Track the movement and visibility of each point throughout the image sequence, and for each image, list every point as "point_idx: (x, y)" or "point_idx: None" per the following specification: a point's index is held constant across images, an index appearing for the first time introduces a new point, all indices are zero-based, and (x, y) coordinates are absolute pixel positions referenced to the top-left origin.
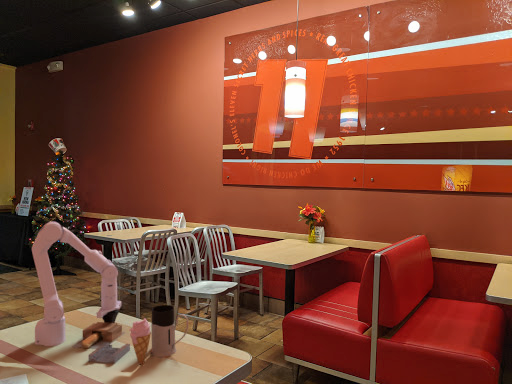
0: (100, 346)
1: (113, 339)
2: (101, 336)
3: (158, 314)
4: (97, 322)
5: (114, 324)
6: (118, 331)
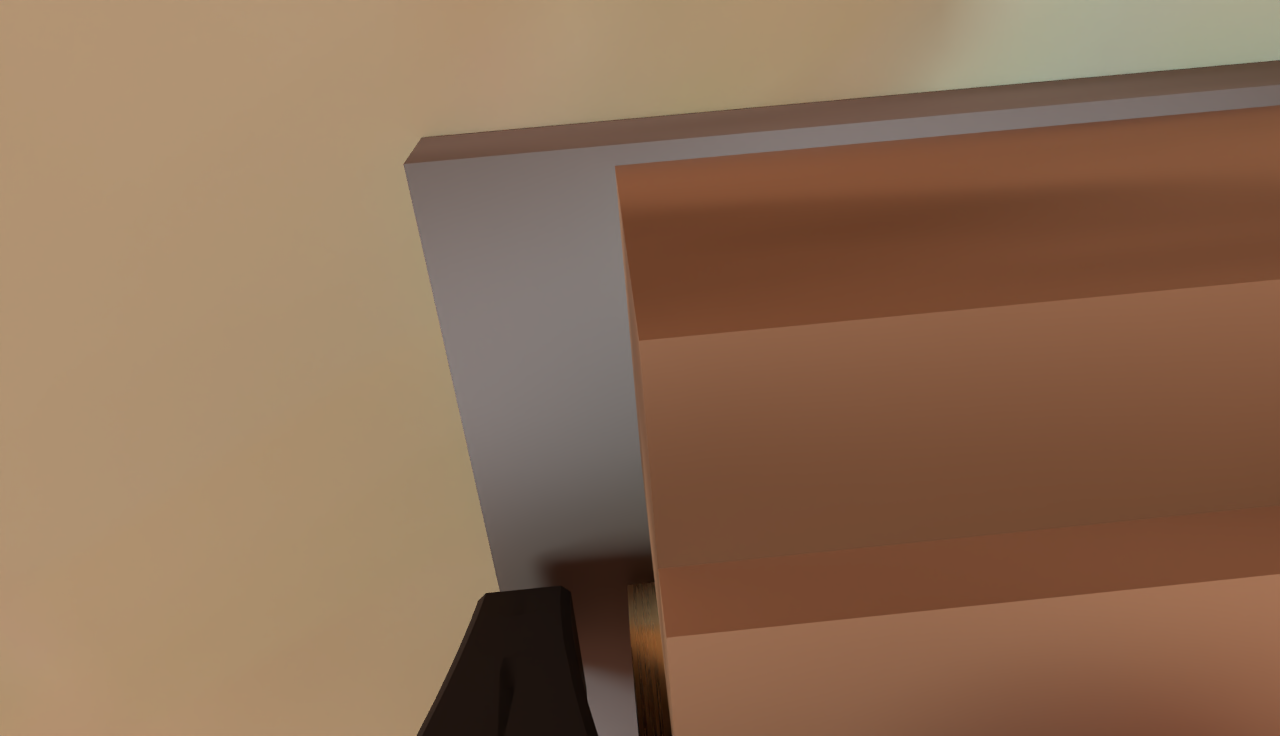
0: None
1: (1260, 124)
2: None
3: None
4: None
5: (884, 653)
6: (961, 211)
